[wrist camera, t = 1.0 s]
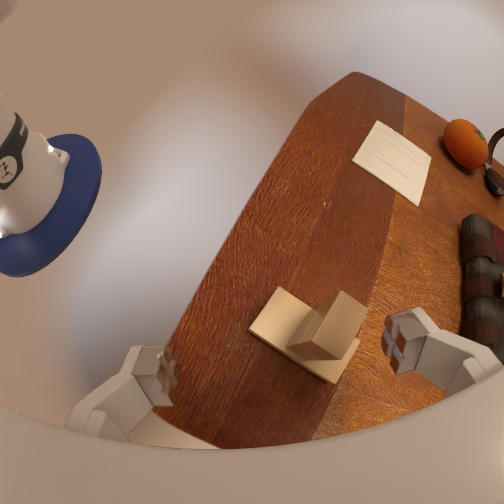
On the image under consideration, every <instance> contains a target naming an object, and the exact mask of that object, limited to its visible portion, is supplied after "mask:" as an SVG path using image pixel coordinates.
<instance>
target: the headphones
mask: <svg viewBox="0 0 504 504" xmlns="http://www.w3.org/2000/svg"><path fill="white" fill-rule="evenodd" d="M503 136H504V128H502V129H500V130H499V131H497V132H496V133H495V134H494V135H493V136H492V138H491V140H490V141H489V144H488V158H487V160H486V163H485V169H486V170H487V172H486V175H487V180H488V183H489V186H490V188H491V190H492V191H493V193H494V194H496V195H498V196H504V179H503V178H502V177H501V176H500V175H499V174H498V173H497V172H496V171H494V170H493V169H492V168H491V160H492V155H493V151H494V148H495V146H496V144H497V142H498V141H499V139H501V138H502V137H503Z"/></svg>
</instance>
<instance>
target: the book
mask: <svg viewBox="0 0 504 504" xmlns="http://www.w3.org/2000/svg"><path fill="white" fill-rule="evenodd" d="M461 224H462V231H463V240H464V241H463V242H462V254H463V265H464V266H465V267H466V280H465V281H464V288H465V299H464V301H465V302H466V322H464V323H463V336H462V337H464V338H466V339H469V340H471V341H474V342H476V343H479V344H481V345H484V346H486V347H488V348H489V349H490V350H491V351H492V352H493V354H494V355H495V356H496V357H497V358H498V360H499V361H500V362H501V363H502V365H503V366H504V231H502V230H501V229H499V228H498V227H497V226H495V225H494V224H492V223H491V222H489V221H488V220H486V219H485V218H483V217H481V216H480V215H478V214H470V215H468V216H467V217H466V218H464V219H463V220H462V222H461Z"/></svg>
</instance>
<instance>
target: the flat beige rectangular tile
mask: <svg viewBox="0 0 504 504" xmlns="http://www.w3.org/2000/svg"><path fill="white" fill-rule="evenodd" d="M430 160H431V157H430V156H429V155H428V154H426V153H425V152H424V151H422V150H421V149H420V148H418V147H417V146H415V145H414V144H413V143H411V142H410V141H408V140H407V139H406V138H404V137H403V136H401V135H400V134H398V133H397V132H395V131H394V130H392V129H391V128H389V127H388V126H386V125H384V124H383V123H381V122H380V121H378V120H377V121H376V123H375V125H374V126H373V128H372V129H371V131H370V133H369V134H368V136H367V138H366V139H365V141H364V142H363V144H362V146H361V147H360V149H359V150H358V152H357V153H356V155H355V157H354V158H353V160H352V162H354V163H355V164H357V165H358V166H360V167H362V168H363V169H365V170H366V171H368V172H369V173H371V174H372V175H374V176H375V177H377V178H378V179H380V180H381V181H382V182H384V183H385V184H387V185H388V186H390V187H391V188H392V189H394V190H395V191H397V192H398V193H399V194H401V195H402V196H403V197H405V198H406V199H407V200H409V201H410V202H411V203H413V204H414V205H415V206H416V207H418V205H419V202H420V199H421V195H422V192H423V188H424V185H425V181H426V177H427V173H428V169H429V165H430Z"/></svg>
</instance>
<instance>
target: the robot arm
mask: <svg viewBox="0 0 504 504" xmlns="http://www.w3.org/2000/svg"><path fill="white" fill-rule="evenodd" d="M18 2H19V0H0V24H1V23H2V22H3V21H4V20H5V19H6V18H7V17H8V16H10V15H11V14H12V13H13V12H14V10H15V8H16V6H17V4H18ZM69 159H70V155H69V154H68V153H67V152H65V151H63V150H60V149H57V148H54V147H51V146H50V144H49V143H48V142H47V140H46V139H45V138H44V136H43V135H42V133H37V132H29V131H28V129H27V127H26V125H25V123H24V121H23V120H22V119H21V117H20V116H19V115H18V114H17V113H14V112H13V111H12V109H11V107H10V105H9V104H8V102H7V100H6V98H5V96H4V95H3V93H2V91H1V89H0V239H3V238H5V237H7V236H9V235H10V234H22V233H25V232H27V231H29V230H31V229H32V228H34V227H35V226H36V225H37V224H39V223H40V222H41V221H42V220H43V219H44V218H45V216H46V215H47V214H48V213H49V211H50V210H51V209H52V207H53V206H54V204H55V202H56V201H57V199H58V197H59V194H60V192H61V189H62V186H63V182H64V172H65V168H66V166H67V164H68V162H69ZM384 325H385V327H386V329H385V330H384V331H383V333H382V337H381V345H382V349H383V352H384V354H385V356H387V357H389V358H391V361H390V365H391V367H392V368H393V370H394V372H395V374H396V375H399V374H402V373H406V372H409V371H412V370H415V371H416V372H417V373H419V374H420V375H422V376H423V377H425V378H426V379H428V380H429V381H431V382H432V383H434V384H435V385H437V386H439V387H440V388H442V389H443V390H445V391H446V392H447V393H446V395H445V397H444V399H443V400H441V401H439V402H437V403H435V404H432V405H430V406H428V407H425V408H423V409H420V410H418V411H415V412H413V413H410V414H408V415H405V416H402V417H399V418H396V419H394V420H391V421H388V422H385V423H381V424H378V425H375V426H372V427H368V428H365V429H361V430H357V431H354V432H350V433H346V434H342V435H337V436H333V437H328V438H323V439H318V440H313V441H307V442H301V443H294V444H287V445H279V446H270V447H259V448H245V449H212V450H211V449H181V448H168V447H157V446H147V445H140V444H133V443H132V442H131V441H130V440H129V439H128V438H127V436H128V435H129V434H130V432H131V431H132V430H133V429H134V428H135V427H136V426H137V425H138V424H139V422H140V421H141V420H142V419H143V418H144V417H145V416H146V415H147V414H148V413H149V411H150V410H151V409H152V408H153V406H174V402H175V398H176V391H175V389H174V388H175V387H176V386H177V385H178V384H179V379H180V375H179V367H178V364H177V362H176V361H175V360H174V359H172V358H171V357H172V354H173V353H172V350H171V348H170V347H169V346H167V345H163V346H132V347H131V348H130V350H129V352H128V354H127V356H126V359H125V361H124V363H123V365H122V367H121V370H120V372H119V374H115V375H114V376H112V377H111V378H110V379H108V380H107V381H106V382H104V383H103V384H101V385H100V386H99V387H98V388H96V389H95V390H94V391H92V392H91V393H89V394H88V395H87V396H85V397H84V398H83V399H81V400H80V401H79V402H77V403H76V404H75V405H74V406H73V408H72V411H71V412H70V415H69V417H68V419H67V422H66V424H65V426H64V428H62V427H59V426H56V425H53V424H50V423H47V422H44V421H41V420H38V419H35V418H33V417H30V416H28V415H25V414H23V413H20V412H18V411H16V410H14V409H11V408H9V407H6V406H2V407H0V504H504V366H503V365H502V363H501V362H500V361H499V360H498V358H497V357H496V356H495V355H494V354H493V352H492V351H491V350H490V349H489V348H488V347H486V346H484V345H481V344H479V343H476V342H474V341H471V340H469V339H466V338H464V337H461V336H459V335H456V334H454V333H451V332H449V331H446V330H444V329H442V330H440V329H439V328H438V327H437V325H436V324H435V323H434V322H433V321H432V320H431V318H430V317H429V316H428V315H427V314H426V313H425V311H424V310H423V309H422V308H420V307H417V308H413V309H410V310H407V311H403V312H399V313H396V314H392V315H388V316H386V318H385V320H384Z"/></svg>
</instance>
